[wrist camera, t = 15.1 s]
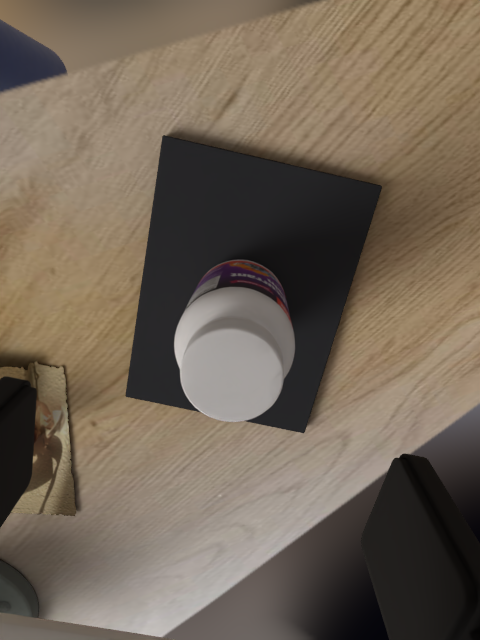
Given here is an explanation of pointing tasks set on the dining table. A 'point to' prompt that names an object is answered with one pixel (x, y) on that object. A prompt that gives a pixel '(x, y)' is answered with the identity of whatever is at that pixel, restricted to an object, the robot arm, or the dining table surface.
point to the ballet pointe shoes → (48, 444)
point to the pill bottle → (235, 342)
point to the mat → (247, 244)
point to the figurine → (16, 593)
